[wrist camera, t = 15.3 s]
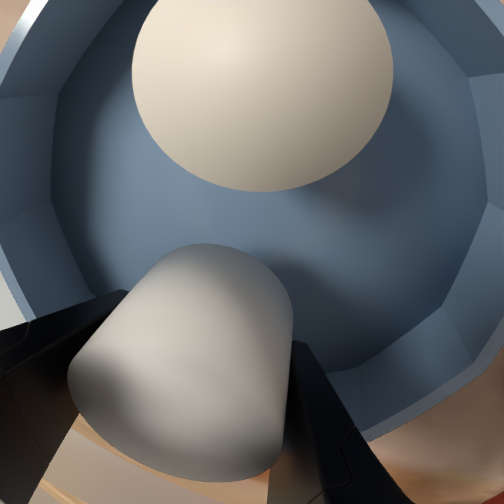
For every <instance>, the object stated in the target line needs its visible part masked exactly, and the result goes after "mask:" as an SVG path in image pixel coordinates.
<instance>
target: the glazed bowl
mask: <svg viewBox="0 0 504 504" xmlns="http://www.w3.org/2000/svg"><path fill="white" fill-rule="evenodd" d="M158 1H159V0H31V2H30V3H29V5H28V6H27V8H26V10H25V11H24V13H23V14H22V16H21V18H20V19H19V21H18V23H17V25H16V26H15V28H14V30H13V32H12V33H11V35H10V37H9V39H8V41H7V43H6V45H5V47H4V49H3V50H2V52H1V54H0V270H1V273H2V275H3V277H4V279H5V281H6V283H7V285H8V287H9V289H10V291H11V293H12V295H13V297H14V299H15V301H16V303H17V305H18V307H19V308H20V310H21V312H22V314H23V315H24V317H25V319H26V321H27V322H30V321H31V320H34V319H36V318H39V317H42V316H45V315H48V314H51V313H53V312H56V311H59V310H62V309H65V308H68V307H70V306H73V305H76V304H79V303H82V302H85V301H88V300H90V299H93V298H96V297H99V296H102V295H105V294H108V293H110V292H113V291H116V290H119V289H124V290H127V291H129V292H130V291H131V290H132V289H133V288H134V287H135V285H136V284H137V283H138V282H139V281H140V280H141V279H142V278H143V277H144V275H145V274H146V273H147V272H148V271H149V270H150V269H151V268H152V267H153V266H154V264H155V263H156V262H157V261H158V260H159V259H160V258H162V257H163V256H164V255H166V254H167V253H169V252H171V251H173V250H175V249H177V248H180V247H183V246H187V245H192V244H203V243H209V244H219V245H224V246H229V247H232V248H235V249H238V250H240V251H243V252H245V253H247V254H249V255H251V256H252V257H254V258H256V259H257V260H259V261H260V262H262V263H263V264H264V265H265V266H267V267H268V268H269V269H270V270H271V271H272V272H273V273H274V274H275V275H276V276H277V278H278V279H279V280H280V282H281V283H282V284H283V286H284V288H285V290H286V291H287V293H288V296H289V298H290V301H291V304H292V309H293V333H292V341H294V340H297V341H302V342H305V343H307V344H308V345H309V347H310V349H311V350H312V352H313V354H314V356H315V357H316V359H317V361H318V362H319V364H320V366H321V367H322V369H323V371H324V372H325V374H326V376H327V377H328V379H329V381H330V382H331V384H332V386H333V388H334V389H335V391H336V393H337V394H338V396H339V398H340V399H341V401H342V403H343V404H344V406H345V408H346V409H347V411H348V413H349V415H350V416H351V418H352V420H353V421H354V423H355V426H356V427H357V428H358V429H359V431H360V433H361V435H362V436H363V438H364V439H365V441H366V442H369V441H372V440H374V439H376V438H378V437H380V436H382V435H384V434H386V433H388V432H390V431H392V430H394V429H396V428H397V427H399V426H401V425H403V424H405V423H407V422H408V421H410V420H412V419H414V418H415V417H417V416H419V415H420V414H422V413H424V412H425V411H427V410H429V409H430V408H432V407H434V406H435V405H437V404H438V403H440V402H441V401H443V400H444V399H446V398H448V397H449V396H451V395H452V394H454V393H455V392H456V391H458V390H459V389H461V388H462V387H464V386H465V385H466V384H468V383H469V382H471V381H472V380H473V379H475V378H476V377H478V376H479V375H480V374H482V373H483V372H484V371H486V370H487V368H488V366H489V365H490V364H491V362H492V361H493V359H494V358H495V357H496V355H497V354H498V352H499V351H500V349H501V348H502V346H503V345H504V6H503V4H502V3H501V2H500V1H499V0H368V1H369V3H370V4H371V6H372V7H373V9H374V10H375V11H376V13H377V14H378V16H379V18H380V20H381V22H382V24H383V26H384V28H385V31H386V34H387V37H388V40H389V43H390V47H391V53H392V58H393V84H392V92H391V96H390V100H389V103H388V107H387V110H386V112H385V115H384V117H383V119H382V121H381V123H380V125H379V127H378V129H377V130H376V132H375V133H374V135H373V136H372V138H371V139H370V141H369V142H368V143H367V144H366V145H365V146H364V148H363V149H362V150H361V151H360V152H359V153H358V154H357V155H356V156H355V157H353V158H352V159H351V160H350V161H349V162H348V163H347V164H345V165H344V166H342V167H341V168H339V169H338V170H336V171H335V172H333V173H331V174H329V175H328V176H326V177H324V178H322V179H320V180H318V181H315V182H312V183H309V184H307V185H304V186H301V187H296V188H292V189H287V190H281V191H271V192H249V191H242V190H235V189H230V188H227V187H223V186H219V185H216V184H213V183H211V182H208V181H206V180H203V179H201V178H199V177H197V176H196V175H194V174H192V173H190V172H188V171H187V170H185V169H184V168H182V167H181V166H180V165H178V164H177V163H176V162H174V161H173V160H172V159H171V158H170V157H169V156H168V155H167V154H166V153H165V152H164V151H163V150H162V149H161V148H160V147H159V145H158V144H157V143H156V142H155V141H154V139H153V138H152V136H151V135H150V133H149V132H148V130H147V128H146V127H145V125H144V123H143V120H142V118H141V116H140V114H139V111H138V108H137V105H136V101H135V98H134V92H133V85H132V63H133V55H134V50H135V46H136V42H137V38H138V36H139V33H140V31H141V28H142V26H143V24H144V22H145V20H146V18H147V17H148V15H149V13H150V11H151V10H152V8H153V7H154V6H155V4H156V3H157V2H158Z"/></svg>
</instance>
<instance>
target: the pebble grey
mask: <svg viewBox="0 0 504 504" xmlns="http://www.w3.org/2000/svg"><path fill="white" fill-rule="evenodd" d="M292 333H293V309H292V304H291V301H290V298H289V296H288V293H287V291H286V290H285V288H284V286H283V284H282V283H281V282H280V280H279V279H278V278H277V276H276V275H275V274H274V273H273V272H272V271H271V270H270V269H269V268H268V267H267V266H265V265H264V264H263V263H262V262H260V261H259V260H257V259H256V258H254V257H252V256H251V255H249V254H247V253H245V252H243V251H240V250H238V249H235V248H232V247H229V246H224V245H219V244H209V243H203V244H192V245H187V246H183V247H180V248H177V249H175V250H173V251H171V252H169V253H167V254H166V255H164V256H163V257H162V258H160V259H159V260H158V261H157V262H156V263H155V264H154V266H153V267H152V268H151V269H150V270H149V271H148V272H147V273H146V274H145V275H144V277H143V278H142V279H141V280H140V281H139V282H138V283H137V284H136V285H135V287H134V288H133V289H132V290H131V291H130V292H129V293H128V295H127V296H126V297H125V298H124V299H123V300H122V301H121V302H120V304H119V305H118V306H117V307H116V308H115V309H114V311H113V312H112V313H111V314H110V315H109V316H108V318H107V319H106V320H105V321H104V322H103V323H102V325H101V326H100V327H99V328H98V329H97V330H96V332H95V333H94V334H93V335H92V336H91V338H90V339H89V340H88V341H87V342H86V344H85V345H84V346H83V347H82V349H81V350H80V351H79V352H78V353H77V355H76V356H75V357H74V358H73V360H72V361H71V363H70V365H69V369H68V373H67V382H68V388H69V391H70V394H71V397H72V399H73V401H74V403H75V405H76V407H77V409H78V410H79V412H80V413H81V415H82V416H83V418H84V419H85V420H86V421H87V423H88V424H89V425H90V426H91V427H92V428H93V429H94V430H95V431H96V432H97V433H98V434H99V435H100V436H101V437H102V438H103V439H104V440H106V441H107V442H108V443H109V444H111V445H112V446H113V447H115V448H116V449H118V450H119V451H121V452H122V453H124V454H125V455H127V456H129V457H130V458H132V459H134V460H136V461H138V462H140V463H141V464H144V465H146V466H148V467H150V468H153V469H155V470H158V471H160V472H163V473H166V474H169V475H173V476H176V477H180V478H184V479H189V480H195V481H203V482H233V481H240V480H244V479H248V478H252V477H254V476H257V475H259V474H261V473H263V472H265V471H267V470H268V469H269V468H270V467H272V466H273V465H274V463H275V462H276V461H277V460H278V458H279V456H280V454H281V449H282V443H283V434H284V425H285V415H286V405H287V394H288V383H289V371H290V359H291V347H292Z"/></svg>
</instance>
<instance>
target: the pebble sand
mask: <svg viewBox="0 0 504 504" xmlns="http://www.w3.org/2000/svg"><path fill="white" fill-rule="evenodd" d="M392 84H393V58H392V53H391V47H390V43H389V40H388V37H387V34H386V31H385V28H384V26H383V24H382V22H381V20H380V18H379V16H378V14H377V13H376V11H375V10H374V9H373V7H372V6H371V4H370V3H369V1H368V0H159V1H158V2H157V3H156V4H155V6H154V7H153V8H152V10H151V11H150V13H149V15H148V17H147V18H146V20H145V22H144V24H143V26H142V28H141V31H140V33H139V36H138V38H137V42H136V46H135V50H134V55H133V63H132V85H133V92H134V98H135V101H136V105H137V108H138V111H139V114H140V116H141V118H142V120H143V123H144V125H145V127H146V128H147V130H148V132H149V133H150V135H151V136H152V138H153V139H154V141H155V142H156V143H157V144H158V145H159V147H160V148H161V149H162V150H163V151H164V152H165V153H166V154H167V155H168V156H169V157H170V158H171V159H172V160H173V161H174V162H176V163H177V164H178V165H180V166H181V167H182V168H184V169H185V170H187V171H188V172H190V173H192V174H194V175H196V176H197V177H199V178H201V179H203V180H206V181H208V182H211V183H213V184H216V185H219V186H223V187H227V188H230V189H235V190H242V191H249V192H271V191H281V190H287V189H292V188H296V187H301V186H304V185H307V184H309V183H312V182H315V181H318V180H320V179H322V178H324V177H326V176H328V175H329V174H331V173H333V172H335V171H336V170H338V169H339V168H341V167H342V166H344V165H345V164H347V163H348V162H349V161H350V160H351V159H352V158H353V157H355V156H356V155H357V154H358V153H359V152H360V151H361V150H362V149H363V148H364V146H365V145H366V144H367V143H368V142H369V141H370V139H371V138H372V136H373V135H374V133H375V132H376V130H377V129H378V127H379V125H380V123H381V121H382V119H383V117H384V115H385V112H386V110H387V107H388V103H389V100H390V96H391V92H392Z"/></svg>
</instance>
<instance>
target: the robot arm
mask: <svg viewBox="0 0 504 504" xmlns="http://www.w3.org/2000/svg"><path fill="white" fill-rule="evenodd" d="M128 293H129V291H127V290H124V289H119V290H116V291H113V292H110V293H108V294H105V295H102V296H99V297H96V298H93V299H90V300H88V301H85V302H82V303H79V304H76V305H73V306H70V307H68V308H65V309H62V310H59V311H56V312H53V313H51V314H48V315H45V316H42V317H39V318H36V319H34V320H31V321H30V322H25V323H22V324H20V325H16V326H13V327H10V328H8V329H4V330H1V331H0V502H2V503H3V504H28V503H29V501H30V499H31V497H32V495H33V493H34V491H35V489H36V488H37V486H38V484H39V482H40V480H41V479H42V477H43V475H44V473H45V471H46V470H47V468H48V466H49V463H50V462H51V460H52V459H53V457H54V455H55V453H56V452H57V450H58V448H59V446H60V445H61V443H62V441H63V440H64V438H65V436H66V434H67V433H68V431H69V429H70V428H71V426H72V424H73V423H74V421H75V419H76V418H77V416H78V414H79V413H80V412H79V410H78V409H77V407H76V405H75V403H74V401H73V399H72V397H71V394H70V391H69V388H68V382H67V373H68V369H69V365H70V363H71V361H72V360H73V358H74V357H75V356H76V355H77V353H78V352H79V351H80V350H81V349H82V347H83V346H84V345H85V344H86V342H87V341H88V340H89V339H90V338H91V336H92V335H93V334H94V333H95V332H96V330H97V329H98V328H99V327H100V326H101V325H102V323H103V322H104V321H105V320H106V319H107V318H108V316H109V315H110V314H111V313H112V312H113V311H114V309H115V308H116V307H117V306H118V305H119V304H120V302H121V301H122V300H123V299H124V298H125V297H126V296H127V295H128ZM267 504H415V503H414V502H412V501H411V500H410V499H409V498H408V497H407V496H406V495H405V494H404V492H403V491H402V490H401V489H400V487H399V486H398V485H397V483H396V482H395V481H394V480H393V478H392V477H391V476H390V474H389V473H388V472H387V471H386V469H385V468H384V467H383V465H382V464H381V463H380V461H379V460H378V459H377V457H376V456H375V454H374V453H373V452H372V450H371V449H370V447H369V446H368V444H367V442H366V441H365V439H364V438H363V436H362V435H361V433H360V431H359V429H358V428H357V427H356V426H355V423H354V421H353V420H352V418H351V416H350V415H349V413H348V411H347V409H346V408H345V406H344V404H343V403H342V401H341V399H340V398H339V396H338V394H337V393H336V391H335V389H334V388H333V386H332V384H331V382H330V381H329V379H328V377H327V376H326V374H325V372H324V371H323V369H322V367H321V366H320V364H319V362H318V361H317V359H316V357H315V356H314V354H313V352H312V350H311V349H310V347H309V345H308V344H307V343H305V342H302V341H297V340H294V341H292V347H291V359H290V371H289V383H288V394H287V405H286V415H285V425H284V434H283V443H282V449H281V454H280V456H279V458H278V460H277V461H276V462H275V463H274V465H273V466H272V467H270V473H269V485H268V497H267Z"/></svg>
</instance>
